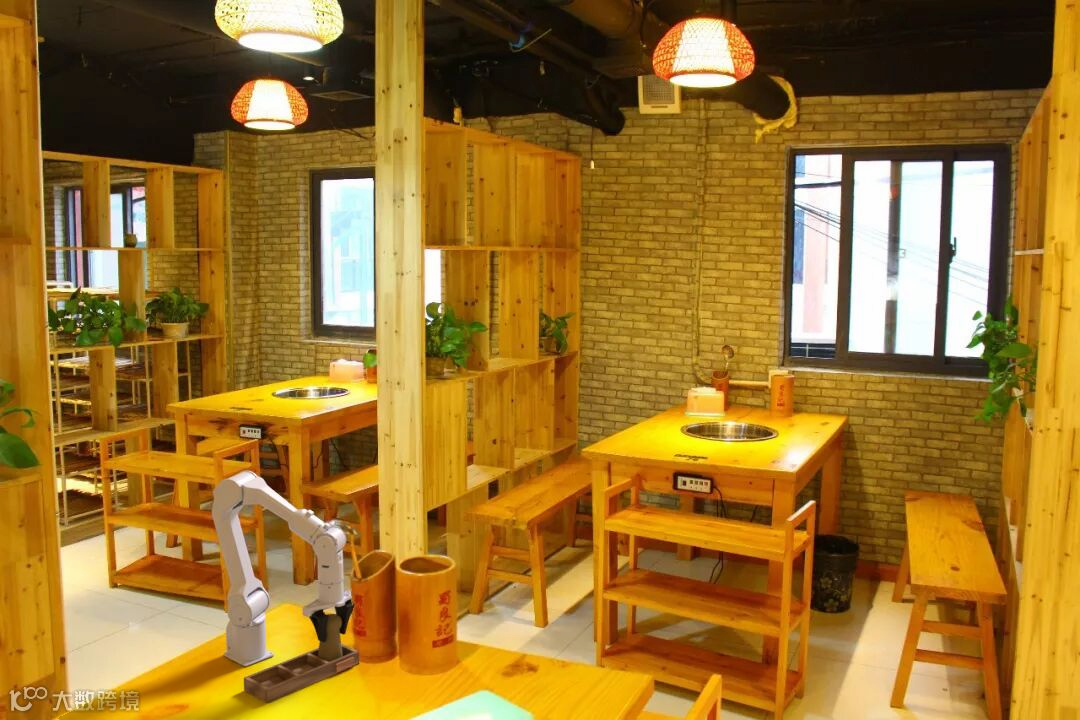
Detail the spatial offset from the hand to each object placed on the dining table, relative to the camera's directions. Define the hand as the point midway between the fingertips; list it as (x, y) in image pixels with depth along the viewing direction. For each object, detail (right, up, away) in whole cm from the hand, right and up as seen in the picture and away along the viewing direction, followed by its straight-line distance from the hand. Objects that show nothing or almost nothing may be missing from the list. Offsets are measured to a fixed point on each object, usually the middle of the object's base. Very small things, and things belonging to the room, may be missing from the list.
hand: (331, 636), depth 210 cm
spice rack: (-5, -7, -5) cm, 10 cm away
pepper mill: (-1, -6, +1) cm, 6 cm away
